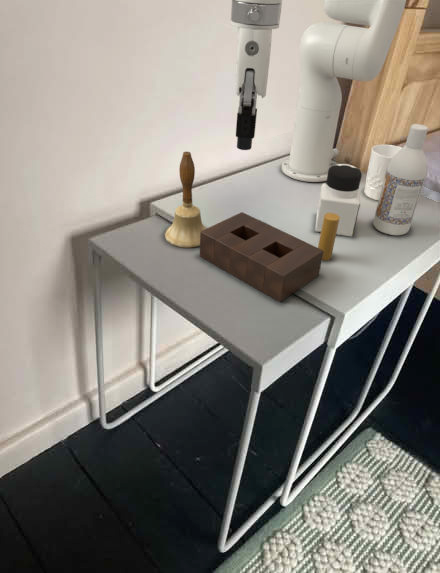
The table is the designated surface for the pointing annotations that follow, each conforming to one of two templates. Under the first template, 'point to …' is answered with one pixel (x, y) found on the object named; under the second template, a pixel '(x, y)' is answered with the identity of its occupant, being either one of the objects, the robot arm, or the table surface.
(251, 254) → the pin block
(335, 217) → the brass pin
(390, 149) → the white cup
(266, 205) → the table surface
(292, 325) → the table surface
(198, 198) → the table surface
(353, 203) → the medicine bottle
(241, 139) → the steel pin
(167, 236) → the hand bell
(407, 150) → the bath foam
